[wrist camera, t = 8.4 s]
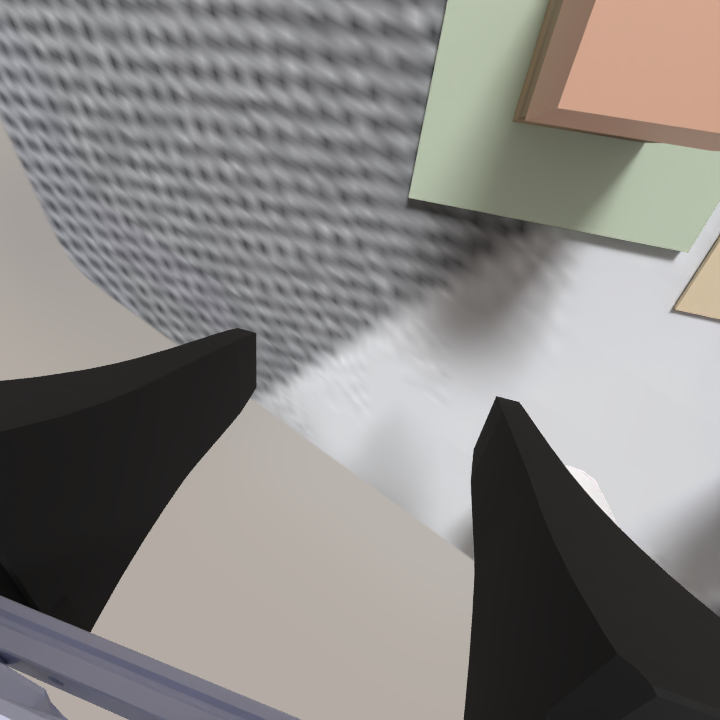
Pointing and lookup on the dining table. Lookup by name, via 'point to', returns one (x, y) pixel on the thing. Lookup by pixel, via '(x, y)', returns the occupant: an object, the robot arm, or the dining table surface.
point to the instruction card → (704, 288)
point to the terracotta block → (634, 71)
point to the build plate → (545, 145)
